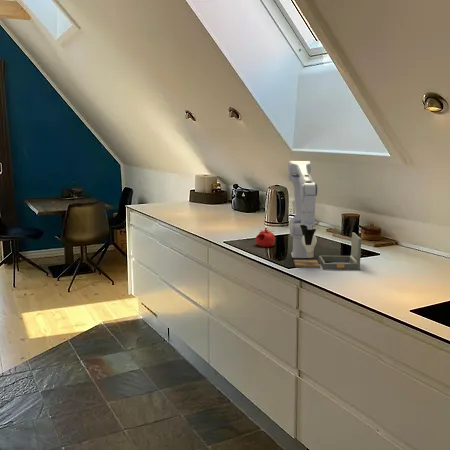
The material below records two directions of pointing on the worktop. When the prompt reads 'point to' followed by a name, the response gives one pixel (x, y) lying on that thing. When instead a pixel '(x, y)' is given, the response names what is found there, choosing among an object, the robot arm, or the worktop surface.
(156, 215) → the worktop surface
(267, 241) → the pomegranate
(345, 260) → the case
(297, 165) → the robot arm
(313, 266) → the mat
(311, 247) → the lightbulb
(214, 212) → the worktop surface
